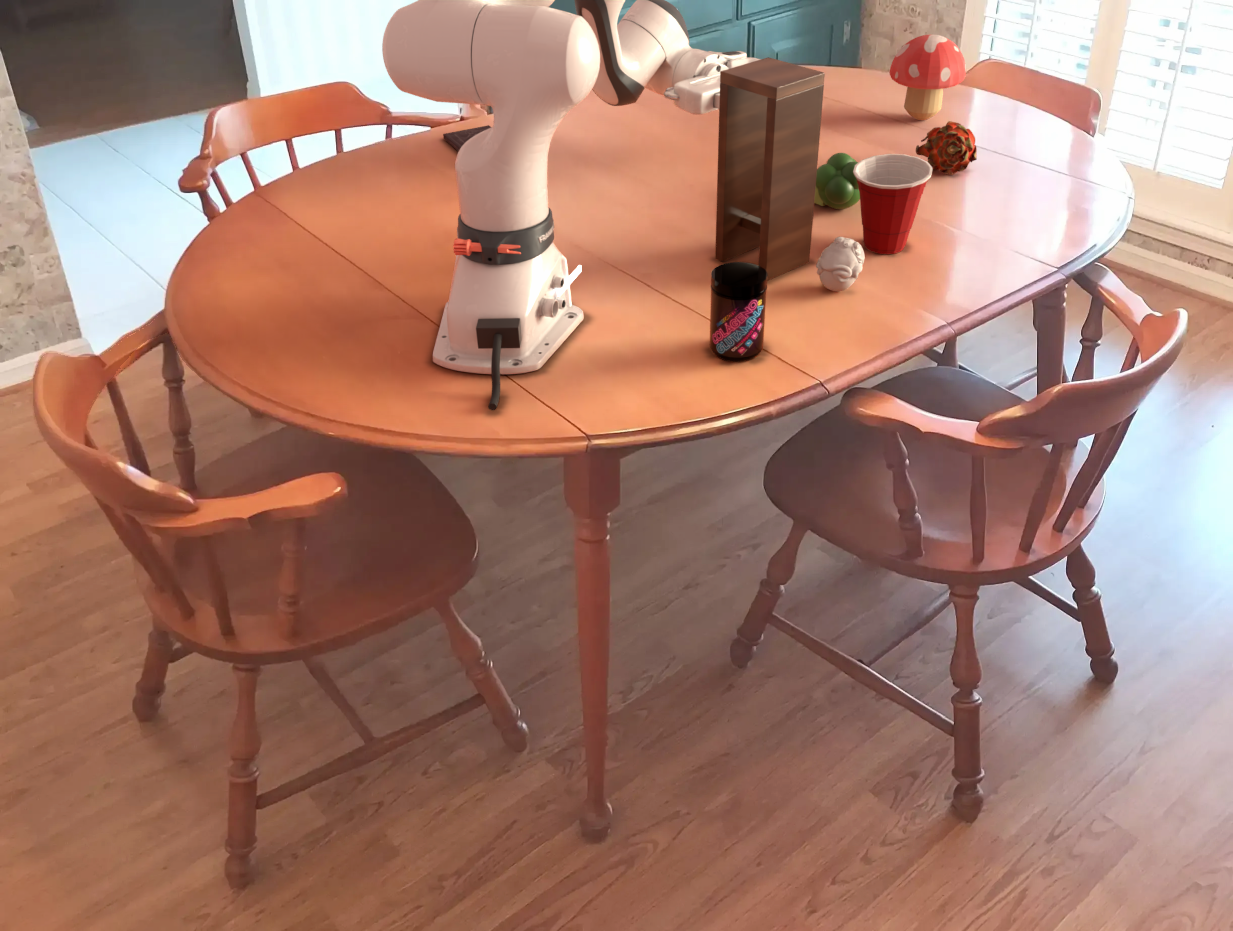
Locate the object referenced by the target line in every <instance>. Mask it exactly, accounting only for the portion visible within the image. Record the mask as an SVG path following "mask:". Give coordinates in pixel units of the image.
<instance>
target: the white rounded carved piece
mask: <svg viewBox="0 0 1233 931" xmlns="http://www.w3.org/2000/svg"><path fill="white" fill-rule="evenodd" d="M865 256H866V255H865V251H864V248H863V246H862V245H861V244H860V242H858V241H856V240H854V239H853V238H850V237H844V236H837V237H835V238H834V240H833V242H831V243H830V244H829V245H828V246H827V247H826V248H824V249H823V250H822V252H821V253H820V256H819V258H817V262H816V264H815V267H816V268H817V270H816V274H817V275H818V276H819V279H820V280H819V281H820V283H821V284H822V286H824V287H825V288H826V289H828V290H829V291H831V292H843V291H845V290H848V289H849V288H850V287H851V286H852V285H853V284H854V283H855V282H856V281H857V279H858V277H859V274H860V273H862V272H863V265H864V263H865V259H866V257H865Z"/></svg>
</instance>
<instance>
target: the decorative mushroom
mask: <svg viewBox="0 0 1233 931" xmlns="http://www.w3.org/2000/svg"><path fill="white" fill-rule="evenodd" d="M888 72H889V77H890V78H891V80H892V81H893V82H895V83H896V84H898V85H900V86H903V87H906V93H905V99H904V103H903V108H904V110H905V111H906V113H907V114H908V115H909V116H911V117H912V118H913V119H915V120H917V121H927V120H928V119H930V118H932V117H935V116H936V115H937V114H938V113H939V112H940V111H941V110H942V106H943V96H944V89H949V88H953V87H956V86H957V85H958V86H959V84H961V83H962V82H964V80H965V78H966V75H967V66H966V61H965V57H964V55H963V53H962V51H961V49H960V47H958V45H957V44H956V43H955V42H954V41H952V40H951V39H949V38H947V37H945V36H943V35H939V34H923V35H919V36H916V37H915V38H912V39H909V41H907V42H906V43H904V44H903V46H902V47H900V49H899V50H898V52H896V54H895V56H894V58H893V59H892V62H891V64H890V67H889V71H888Z"/></svg>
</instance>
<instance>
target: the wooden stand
mask: <svg viewBox="0 0 1233 931" xmlns="http://www.w3.org/2000/svg"><path fill="white" fill-rule="evenodd" d="M760 59H761V60H757V61H754V62H751V63H747V64H744V65H740V66H737V67H734V68H730V69H727V70H723V71H721V72H720V102H719V109H718V139H717V140H718V142H717V143H718V144H717V178H716V179H717V182H716V212H715V213H716V214H715V251H714V259H715V260H717V261H719V262H721V263H723V262H726V261H729V260H731V259H733V258H735V257H738V256H741V255H743V254H745V253H749V252H750V251H752V250H754V249H755V250H756V249H758V248H759V251H758V266H760V267H762V268H764V269H765V270H766V271H767V274H768V277H767V282H769V281H770V280H773V279H775V278H777V277H780V276H782V275H784V274H786V273H788V272H791V271H793V270H795V269H797V268H800V267H802V266H804V265H806V264H809V263H810V259H811V258H810V257H811V248H812V233H813V225H814V224H813V223H814V210H815V203H814V200H815V188H816V176H817V169H818V162H819V151H820V150H819V148H820V139H821V126H822V114H823V104H824V103H823V102H824V88H825V77H826V72H823V71H820V70H816V69H813V68H809V67H806V66H802V65H799V64H794V63H791V62H787V61H784V60H779V59H777V58H772V57H768V56H767V57H764V58H760Z"/></svg>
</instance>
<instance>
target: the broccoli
mask: <svg viewBox="0 0 1233 931" xmlns="http://www.w3.org/2000/svg"><path fill="white" fill-rule="evenodd" d="M859 162H860V161H856V159H854V158H853V157H852V156H851V155H850V154H848V153H845V152H837V153H834V154H832V155H831V156H830V157H829V158H828V159H827V161H826V163H824V164H821V165H820V166H818V167H817V176H816V188H815V200H814V204H816V205H819V206H821V207H825V206H827V207H830V208H832V209H835V210H845V209H848V208H851V207H853V206H855V205H856V204H857V203H858V202H860V191H859V187H858V184H857V179H856V177H855V175H854V173H853V170H854V167H855V165H856V164H857V163H859Z"/></svg>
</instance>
